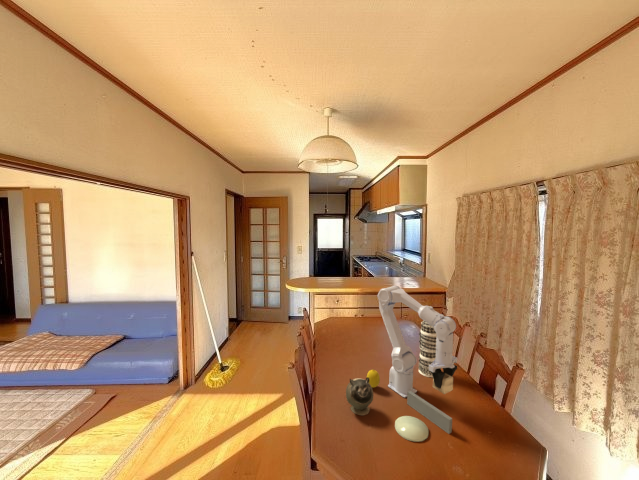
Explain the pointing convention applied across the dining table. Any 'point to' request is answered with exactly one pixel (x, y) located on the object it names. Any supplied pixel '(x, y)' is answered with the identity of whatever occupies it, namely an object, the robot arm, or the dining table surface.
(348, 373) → the dining table surface
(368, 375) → the lemon
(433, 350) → the decorative candle
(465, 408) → the dining table surface
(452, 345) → the robot arm
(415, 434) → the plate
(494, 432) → the dining table surface
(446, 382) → the cube
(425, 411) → the grey rectangular bar
